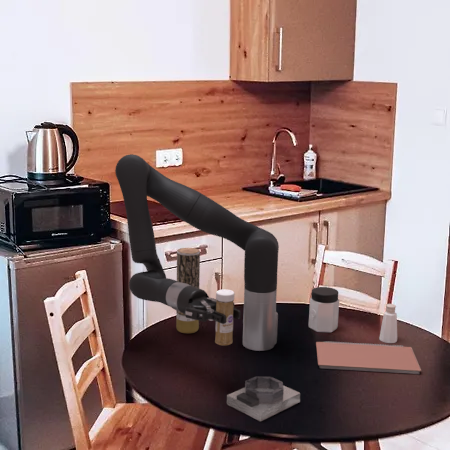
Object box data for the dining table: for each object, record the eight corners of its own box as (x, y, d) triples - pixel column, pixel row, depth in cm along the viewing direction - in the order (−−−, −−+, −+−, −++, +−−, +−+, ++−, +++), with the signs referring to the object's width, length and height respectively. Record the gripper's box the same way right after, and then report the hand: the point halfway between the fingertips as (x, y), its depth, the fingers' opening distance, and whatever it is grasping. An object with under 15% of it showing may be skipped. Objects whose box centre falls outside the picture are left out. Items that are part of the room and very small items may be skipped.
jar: (303, 324, 220) (305, 288, 217) (325, 320, 224) (327, 285, 221) (320, 334, 212) (322, 297, 209) (342, 330, 216) (344, 293, 213)
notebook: (410, 351, 203) (410, 344, 203) (420, 376, 187) (421, 369, 186) (315, 345, 205) (315, 339, 205) (317, 370, 189) (318, 363, 189)
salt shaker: (399, 343, 207) (402, 308, 204) (380, 343, 207) (383, 307, 204) (395, 336, 212) (398, 302, 210) (377, 336, 212) (379, 301, 210)
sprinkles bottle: (227, 347, 173) (228, 295, 170) (211, 343, 175) (212, 292, 172) (236, 341, 177) (237, 290, 174) (220, 337, 179) (221, 287, 176)
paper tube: (200, 326, 216) (201, 248, 211) (197, 335, 210) (198, 254, 204) (178, 325, 217) (178, 247, 211) (174, 333, 210) (175, 253, 205)
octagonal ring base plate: (266, 386, 178) (266, 369, 177) (299, 402, 170) (300, 383, 169) (226, 404, 168) (227, 385, 167) (260, 421, 161) (261, 402, 159)
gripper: (165, 291, 179) (211, 309, 167) (207, 280, 188) (253, 296, 176) (165, 319, 180) (210, 339, 169) (206, 306, 190) (252, 324, 178)
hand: (232, 317), depth 173 cm, fingers closed on sprinkles bottle, 4 cm apart
